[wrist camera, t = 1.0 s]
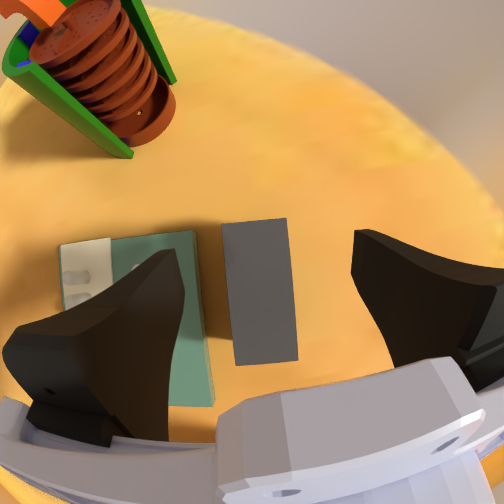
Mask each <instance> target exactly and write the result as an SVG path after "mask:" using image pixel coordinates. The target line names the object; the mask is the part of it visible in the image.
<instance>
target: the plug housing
mask: <svg viewBox="0 0 504 504" xmlns="http://www.w3.org/2000/svg"><path fill="white" fill-rule="evenodd" d="M221 225H222V237H223V248H224V260H225V270H226V281H227V291H228V301H229V311H230V321H231V330H232V339H233V348H234V357H235V365H236V366H243V365H257V364H269V363H280V362H289V361H298V345H297V330H296V317H295V304H294V292H293V280H292V269H291V258H290V248H289V238H288V229H287V220H286V218H279V219H268V220H258V221H247V222H237V223H228V224H221Z"/></svg>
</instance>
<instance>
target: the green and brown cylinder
mask: <svg viewBox="0 0 504 504" xmlns="http://www.w3.org/2000/svg"><path fill="white" fill-rule="evenodd" d="M13 13H21V14H23V15H24V16H26V17H27V18H28V19H27V20H26V21H25V23H24V24H23V25H22V26H21V27H20V29H19V30H18V32H17V33H16V34H15V36H14V37H13V39H12V41H11V42H10V44H9V46H8V48H7V50H6V52H5V55H4V58H3V62H2V71H3V73H4V74H5V75H6V76H7V77H9V78H10V79H11V80H13V81H14V82H15V83H17V84H18V85H19V86H20V87H22V88H23V89H24V90H26V91H27V92H28V93H30V94H31V95H32V96H34V97H35V98H36V99H38V100H39V101H40V102H42V103H43V104H44V105H45V106H47V107H48V108H49V109H51V110H52V111H53V112H55V113H56V114H57V115H59V116H60V117H61V118H63V119H64V120H65V121H67V122H68V123H69V124H71V125H72V126H73V127H75V128H76V129H77V130H79V131H80V132H81V133H83V134H84V135H85V136H87V137H88V138H89V139H91V140H92V141H93V142H95V143H96V144H97V145H99V146H100V147H101V148H103V149H104V150H105V151H107V152H108V153H109V154H111V155H113V156H115V157H118V158H125V159H131V158H133V154H134V152H133V151H132V150H131V149H130V148H129V147H135V146H140V145H143V144H146V143H148V142H150V141H152V140H153V139H155V138H156V137H158V136H159V135H160V134H161V133H162V132H163V131H164V130H165V129H166V128H167V126H168V125H169V124H170V122H171V120H172V118H173V116H174V113H175V108H176V102H175V98H174V95H173V93H172V91H171V89H170V87H169V85H168V83H170V84H172V85H173V84H174V83H175V82H176V81H177V80H176V77H175V75H174V73H173V71H172V68H171V66H170V64H169V62H168V60H167V57H166V55H165V53H164V51H163V48H162V46H161V44H160V42H159V39H158V37H157V35H156V33H155V30H154V28H153V26H152V24H151V21H150V19H149V17H148V15H147V12H146V10H145V8H144V6H143V3H142V2H141V0H0V14H1V15H2V16H3V17H4V18H5V19H7V18H8V17H9V16H10V15H12V14H13ZM167 82H168V83H167ZM139 111H142V114H141V115H137V113H138V112H139Z"/></svg>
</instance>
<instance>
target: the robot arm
mask: <svg viewBox="0 0 504 504" xmlns="http://www.w3.org/2000/svg"><path fill="white" fill-rule="evenodd" d="M351 275H352V278H353V281H354V283H355V286H356V288H357V290H358V293H359V294H360V296H361V298H362V300H363V301H364V303H365V305H366V307H367V308H368V310H369V312H370V314H371V315H372V317H373V319H374V321H375V322H376V324H377V326H378V328H379V329H380V331H381V333H382V336H383V338H384V340H385V342H386V345H387V348H388V350H389V353H390V356H391V358H392V361H393V364H394V369H390V370H387V371H383V372H379V373H375V374H371V375H367V376H363V377H358V378H354V379H349V380H344V381H340V382H334V383H329V384H324V385H318V386H312V387H306V388H299V389H292V390H285V391H278V392H274V393H270V394H266V395H262V396H258V397H254V398H249V399H245V400H244V401H242V402H241V403H239V404H238V405H236V406H234V407H233V408H231V409H229V410H228V411H226V412H225V413H223V414H222V415H220V416H218V421H217V426H216V436H215V443H181V442H169V438H168V401H169V383H170V372H171V363H172V357H173V352H174V348H175V344H176V340H177V335H178V331H179V327H180V323H181V319H182V315H183V310H184V300H185V288H184V284H183V280H182V276H181V272H180V268H179V264H178V260H177V255H176V251H175V248H173V249H164V250H159V251H158V252H156V253H154V254H153V255H152V256H150V257H149V258H148V259H146V260H145V261H144V262H142V263H141V264H140V265H138V266H137V267H136V268H135V269H133V270H132V271H131V272H129V273H128V274H127V275H125V276H124V277H123V278H121V279H120V280H118V281H117V282H116V283H114V284H113V285H111V286H110V287H108V288H107V289H105V290H104V291H102V292H100V293H99V294H97V295H95V296H94V297H92V298H90V299H88V300H86V301H84V302H82V303H80V304H78V305H76V306H74V307H72V308H70V309H68V310H66V311H63V312H61V313H58V314H56V315H53V316H51V317H48V318H45V319H42V320H39V321H35V322H32V323H28V324H25V325H21V326H18V327H17V328H16V329H15V331H14V332H13V334H12V335H11V336H10V338H9V339H8V341H7V342H6V344H5V345H4V347H3V350H2V355H3V360H4V363H5V365H6V367H7V369H8V370H9V372H10V373H11V375H12V376H13V377H14V378H15V380H16V381H17V382H18V383H19V385H20V386H21V387H22V388H23V389H24V390H25V392H26V393H27V394H28V395H29V396H30V397H31V398H32V400H33V402H32V405H31V407H29V406H28V405H26V404H25V403H22V402H20V401H17V400H14V399H11V398H8V397H3V398H2V401H1V403H0V466H2V467H3V468H5V469H6V470H7V471H9V472H10V473H12V474H13V475H15V476H16V477H18V478H19V479H21V480H23V481H24V482H26V483H28V484H29V485H31V486H33V487H35V488H37V489H39V490H41V491H43V492H46V493H48V494H50V495H52V496H54V497H56V498H59V499H61V500H63V501H66V502H68V503H71V504H496V503H495V500H494V497H493V494H492V491H491V489H490V486H489V483H488V481H487V478H486V476H485V473H484V471H483V468H482V466H481V463H480V461H481V460H482V459H484V458H485V457H486V456H488V455H489V454H491V453H492V452H493V451H495V450H496V449H497V448H499V447H500V446H501V445H503V444H504V269H503V268H492V267H484V266H478V265H472V264H467V263H463V262H459V261H455V260H451V259H447V258H444V257H441V256H438V255H434V254H432V253H429V252H426V251H424V250H421V249H418V248H416V247H413V246H411V245H408V244H406V243H404V242H401V241H399V240H397V239H394V238H392V237H390V236H387V235H385V234H382V233H380V232H377V231H374V230H370V229H363V230H354V244H353V255H352V266H351Z"/></svg>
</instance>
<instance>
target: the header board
mask: <svg viewBox="0 0 504 504" xmlns="http://www.w3.org/2000/svg"><path fill="white" fill-rule="evenodd" d="M173 248H175V251H176V255H177V260H178V264H179V268H180V272H181V276H182V280H183V284H184V288H185V300H184V310H183V315H182V319H181V323H180V327H179V331H178V335H177V340H176V344H175V348H174V352H173V357H172V363H171V372H170V383H169V401H168V406H188V407H213V405H214V402H215V393H214V387H213V380H212V374H211V367H210V360H209V352H208V345H207V337H206V329H205V320H204V312H203V303H202V293H201V283H200V273H199V262H198V250H197V237H196V232H195V231H193V230H187V231H178V232H170V233H162V234H154V235H146V236H138V237H130V238H123V239H115V240H111V238H103V239H96V240H90V241H83V242H77V243H70V244H64V245H61V247H60V248H58V250H59V270H60V283H61V293H62V302H63V310H64V311H66V310H68V309H70V308H72V307H74V306H76V305H78V304H80V303H82V302H84V301H86V300H88V299H90V298H92V297H94V296H95V295H97V294H99V293H100V292H102V291H104V290H105V289H107V288H108V287H110V286H111V285H113V284H114V283H116V282H117V281H118V280H120V279H121V278H123V277H124V276H125V275H127V274H128V273H129V272H131V271H132V270H133V269H135V268H136V267H137V266H138V265H140V264H141V263H142V262H144V261H145V260H146V259H148V258H149V257H150V256H152V255H153V254H154V253H156V252H158V251H159V250H164V249H173Z"/></svg>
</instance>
